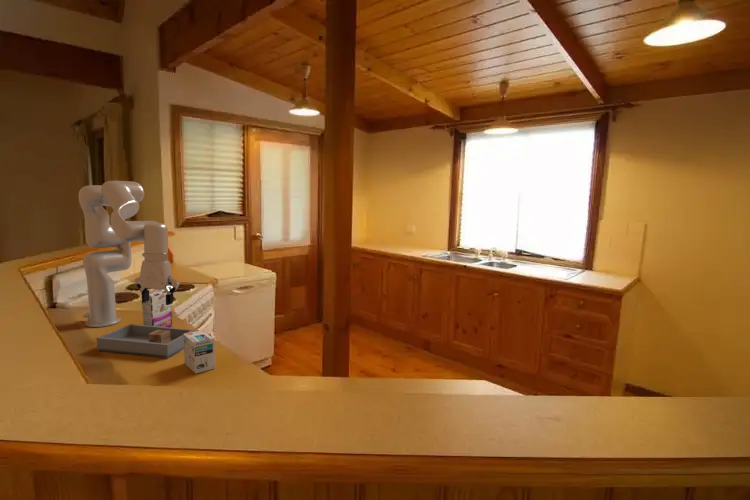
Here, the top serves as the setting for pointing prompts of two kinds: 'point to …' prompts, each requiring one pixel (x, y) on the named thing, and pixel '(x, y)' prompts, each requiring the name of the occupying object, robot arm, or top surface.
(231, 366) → the top surface
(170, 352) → the tote
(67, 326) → the top surface
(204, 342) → the light bulb box
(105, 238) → the robot arm
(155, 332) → the walnut cube
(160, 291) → the candy bar box
